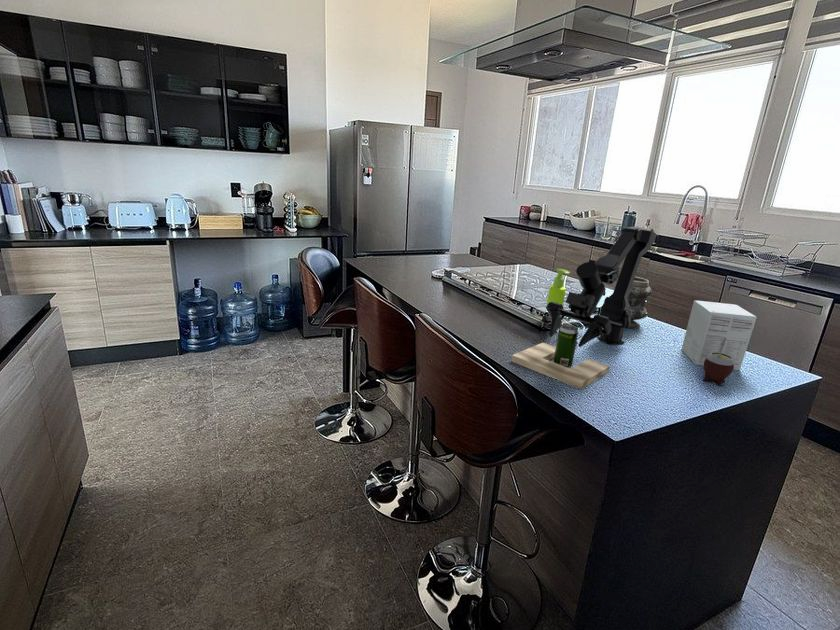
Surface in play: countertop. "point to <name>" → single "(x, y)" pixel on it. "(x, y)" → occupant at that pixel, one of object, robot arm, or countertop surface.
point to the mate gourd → (718, 366)
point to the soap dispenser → (557, 288)
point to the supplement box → (718, 331)
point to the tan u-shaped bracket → (560, 366)
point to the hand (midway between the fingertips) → (564, 341)
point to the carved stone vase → (638, 300)
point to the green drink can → (566, 345)
